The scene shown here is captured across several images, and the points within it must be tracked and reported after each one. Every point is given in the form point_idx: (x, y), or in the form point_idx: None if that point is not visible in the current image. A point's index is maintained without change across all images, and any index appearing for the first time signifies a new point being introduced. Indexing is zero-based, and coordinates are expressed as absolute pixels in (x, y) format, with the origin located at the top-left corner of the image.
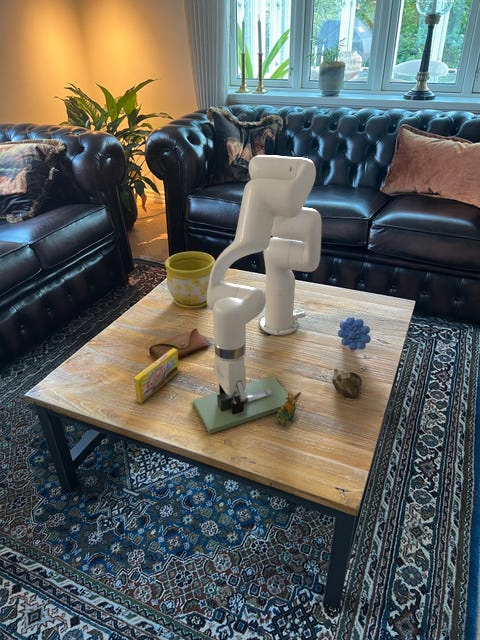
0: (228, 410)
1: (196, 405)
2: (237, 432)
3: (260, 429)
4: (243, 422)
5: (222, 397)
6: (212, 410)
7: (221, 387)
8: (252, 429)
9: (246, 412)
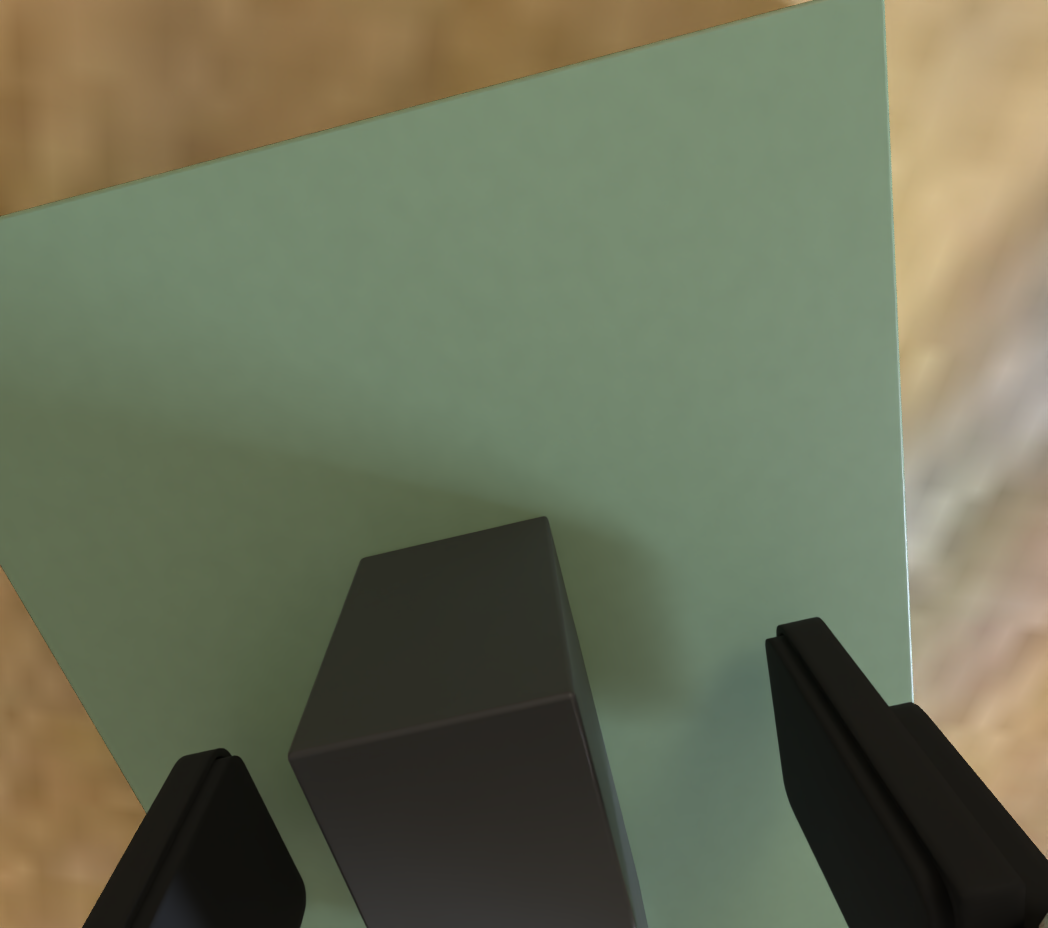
0: None
1: (653, 47)
2: (5, 678)
3: (77, 920)
4: None
5: (433, 806)
6: (415, 401)
7: (863, 808)
8: (74, 847)
9: None
